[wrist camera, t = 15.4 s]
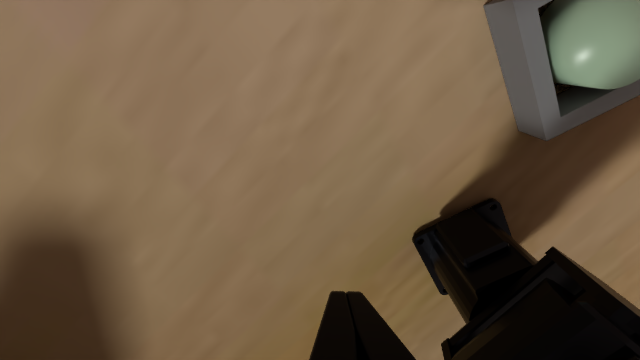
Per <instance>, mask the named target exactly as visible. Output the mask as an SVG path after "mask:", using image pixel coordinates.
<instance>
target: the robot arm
mask: <svg viewBox="0 0 640 360" xmlns="http://www.w3.org/2000/svg"><path fill="white" fill-rule="evenodd" d="M493 204H494V205H493ZM491 205H493V206H492V207H490V206H491ZM419 239H422V240H421V241H418V240H419ZM412 241H413V243H414V245H415V247H416V249H417V251H418V252H419V254H420V256H421V258H422V260H423V262H424V264H425V266H426V268H427V269H428V271H429V273H430V275H431V277H432V279H433V281H434V283H435V285H436V287H437V288H438V290H439V292H440V293H441V294H442V295H447V294H449V296H450V298H451V299H452V301H453V303H454V304H455V306H456V308H457V309H458V311H459V313H460V314H461V316H462V318H463V319H464V321H465V323H466V325H465V326H464V327H462V328H461V329H460V330H459V331H458V332H457V333H456V334H454V335H453V336H452V337H451V338H450V339H449V338H447V339H446V340H445V341H444V342H442V343H441V346H442V351H443V356H444V360H640V309H638V308H637V307H636V306H634V305H633V304H632V303H630V302H629V301H628V300H626V299H625V298H624V297H622V296H621V295H620V294H619V293H617V292H616V291H615V290H613V289H612V288H611V287H609V286H608V285H607V284H605V283H604V282H603V281H601V280H600V279H599V278H597V277H596V276H594V275H593V274H591V273H590V272H589V271H587V270H586V269H584V268H583V267H582V266H580V265H579V264H577V263H576V262H574V261H573V260H572V259H570V258H569V257H567V256H566V255H565V254H563V253H562V252H560V251H559V250H557V249H556V248H555V247H551V248H550V249H549V250H548V251H547V252H546V253H545V254H546V255H545V256H544V257H543V258H542V259H541V260H540V261H537V260H536V259H535V258H534V257H533V256H532V255H531V254H529V253H528V252H527V251H526V250H525V249H524V248H523V247H522V246H521V245H519V244H518V243H517V242H516V241H515V240H514V239H513V238H512V236H511V233H510V231H509V228H508V225H507V222H506V219H505V216H504V213H503V210H502V207H501V205H500V203H499V202H498V201H497V200H496V199H493V198H491V199H488V200H486V201H483V202H481V203H479V204H477V205H475V206H473V207H471V208H469V209H467V210H465V211H463V212H461V213H458V214H456V215H454V216H452V217H450V218H448V219H446V220H444V221H442V222H440V223H438V224H435V225H433V226H431V227H429V228H427V229H425V230H423V231H421V232H419V233H417V234H415V235H414V236H413V238H412ZM444 288H445V289H444ZM309 360H416V359H415V358H414V357H413V355H412V354H411V353H410V352H409V350H408V349H407V348H406V347H405V345H404V344H403V343H402V342H401V341H400V339H399V338H398V337H397V336H396V334H395V333H394V332H393V331H392V329H391V328H390V327H389V326H388V324H387V323H386V322H385V321H384V320H383V318H382V317H381V316H380V315H379V313H378V312H377V311H376V310H375V308H374V307H373V306H372V305H371V303H370V302H369V301H368V300H367V299H366V297H365V296H364V295H363V294H362V293H361V292H354V291H348V292H346V293H345V292H344V291H332V292H331V293H330V295H329V298H328V301H327V305H326V308H325V311H324V314H323V317H322V320H321V324H320V327H319V330H318V333H317V336H316V340H315V343H314V346H313V349H312V352H311V355H310V359H309Z"/></svg>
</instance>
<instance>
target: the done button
mask: <svg viewBox="0 0 640 360" xmlns="http://www.w3.org/2000/svg"><path fill="white" fill-rule="evenodd" d="M540 22H541V26H542V31H543V36H544V40H545V45H546V50H547V55H548V59H549V64H550V69H551V73H552V78H553V82H554V83H560V84H568V85H575V86H583V87H590V88H598V89H616V88H621V87H624V86H627V85H629V84H631V83H634V82H635V81H637V80H639V79H640V0H554V1H553V2H552V3H551V4H550V5H549V7H548V8H547V9H546V10H545V11H544V13H543V14H542V16H541V17H540Z"/></svg>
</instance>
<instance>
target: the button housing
mask: <svg viewBox="0 0 640 360" xmlns="http://www.w3.org/2000/svg"><path fill="white" fill-rule="evenodd" d="M550 1H552V0H493V1H491V2H489V3H487V4H486V5H484V9H485V13H486V16H487V20H488V24H489V27H490V31H491V34H492V38H493V41H494V45H495V49H496V52H497V56H498V59H499V63H500V66H501V70H502V73H503V77H504V81H505V84H506V88H507V91H508V95H509V98H510V102H511V106H512V109H513V113H514V116H515V120H516V123H517V127H518V130H519V131H521V132H524V133H526V134H529V135H532V136H534V137H537V138H540V139H542V140H545V141H548V140H550V139H552V138H554V137H556V136H558V135H560V134H562V133H564V132H566V131H568V130H570V129H572V128H574V127H576V126H578V125H580V124H582V123H584V122H586V121H588V120H590V119H592V118H594V117H596V116H598V115H600V114H602V113H604V112H606V111H608V110H610V109H612V108H615V107H617V106H619V105H621V104H623V103H625V102H627V101H629V100H631V99H633V98H635V97H637V96H639V95H640V79H639V80H637V81H635V82H634V83H631V84H629V85H627V86H624V87H621V88H616V89H598V88H590V87H583V86H574V87H572V88H570V89H568V90H566V91H564V92H562V93H561V94H559V95H557V96H556V92H555V88H554V83H553V78H552V73H551V69H550V64H549V59H548V55H547V50H546V45H545V40H544V36H543V31H542V26H541V22H540V17H539V12H538V8H539V7H541V6H543V5H545V4H546V3H548V2H550Z"/></svg>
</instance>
